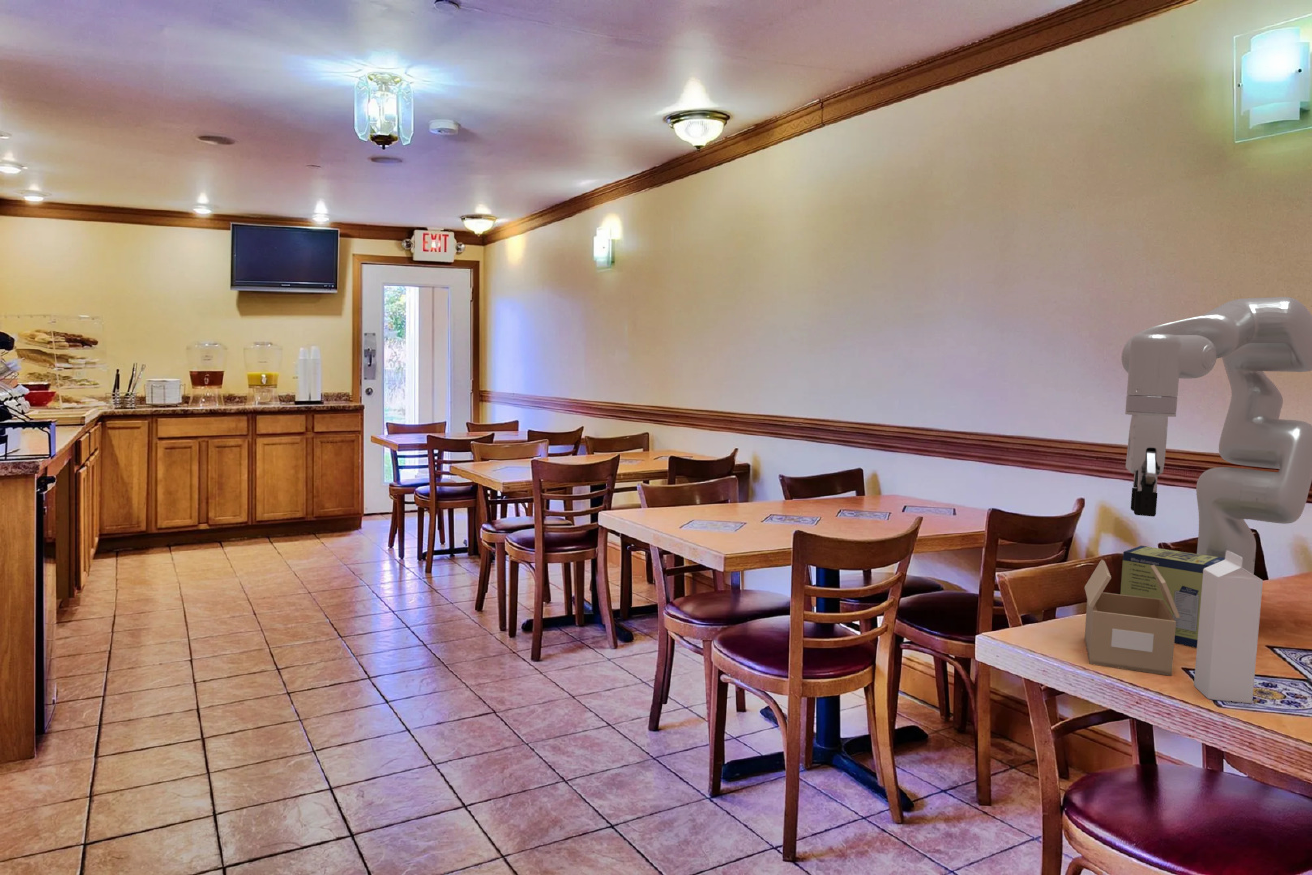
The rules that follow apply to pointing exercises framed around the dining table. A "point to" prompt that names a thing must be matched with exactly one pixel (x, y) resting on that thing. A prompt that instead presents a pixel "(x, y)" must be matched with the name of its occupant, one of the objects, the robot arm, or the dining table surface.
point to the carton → (1130, 633)
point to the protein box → (1169, 583)
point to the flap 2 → (1165, 591)
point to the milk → (1228, 631)
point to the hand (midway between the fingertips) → (1142, 512)
